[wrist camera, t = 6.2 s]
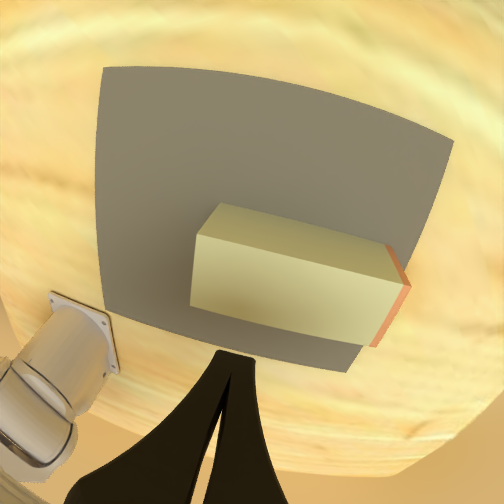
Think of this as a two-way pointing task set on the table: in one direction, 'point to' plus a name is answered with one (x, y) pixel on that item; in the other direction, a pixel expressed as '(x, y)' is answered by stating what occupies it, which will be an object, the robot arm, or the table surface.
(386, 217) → the rubber mat
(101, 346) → the robot arm
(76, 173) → the table surface
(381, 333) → the sage block
